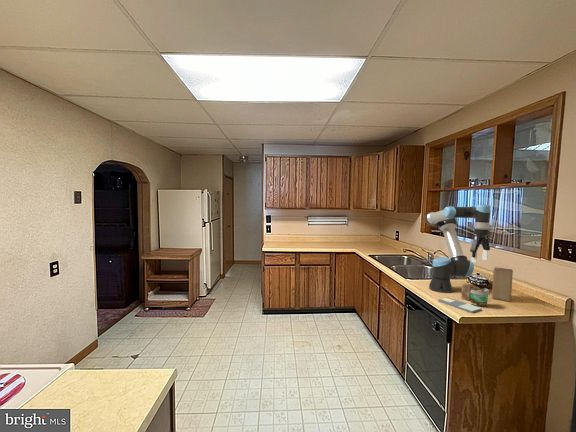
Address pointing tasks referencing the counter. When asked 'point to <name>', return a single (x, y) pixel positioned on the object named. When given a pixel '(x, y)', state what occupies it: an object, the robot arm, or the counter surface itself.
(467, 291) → the walnut pillar
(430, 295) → the counter surface
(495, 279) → the wooden block
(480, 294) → the food container
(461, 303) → the board
